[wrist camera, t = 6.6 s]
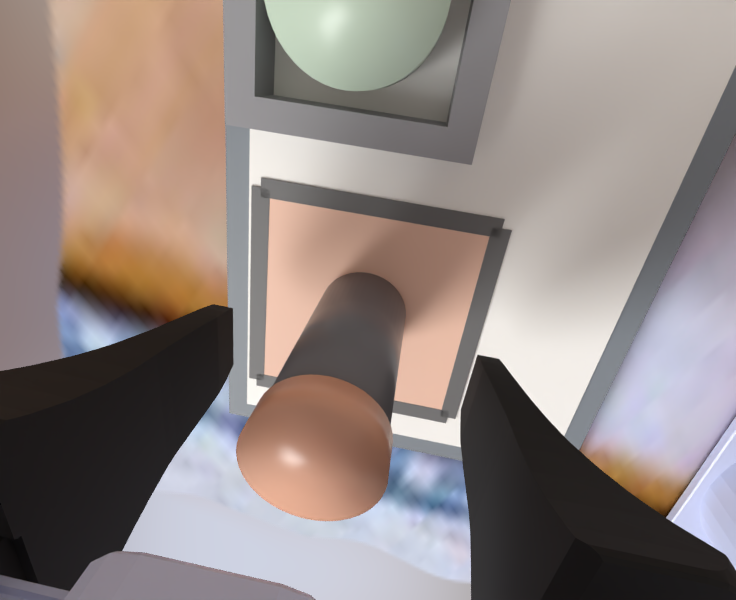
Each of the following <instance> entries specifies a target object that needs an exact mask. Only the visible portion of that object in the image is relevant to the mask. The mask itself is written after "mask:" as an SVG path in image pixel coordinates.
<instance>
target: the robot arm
mask: <svg viewBox="0 0 736 600" xmlns="http://www.w3.org/2000/svg"><path fill="white" fill-rule="evenodd" d="M233 365H234V359H233V308H229V307H224V306H219V305H214V304H213V305H210V306H207V307H204V308H202V309H199V310H197V311H194V312H192V313H190V314H187V315H185V316H183V317H180V318H178V319H176V320H173V321H171V322H169V323H166V324H164V325H162V326H159V327H157V328H154V329H152V330H149V331H147V332H144V333H141V334H139V335H136V336H134V337H131V338H128V339H126V340H123V341H120V342H118V343H115V344H112V345H109V346H105V347H102V348H99V349H96V350H92V351H89V352H85V353H82V354H79V355H75V356H71V357H67V358H62V359H58V360H54V361H49V362H45V363H41V364H36V365H32V366H26V367H21V368H15V369H10V370H4V371H0V600H315V599H314V598H313V597H312V596H311V595H309V594H306V593H304V592H301V591H298V590H296V589H294V588H291V587H288V586H286V585H283V584H280V583H275V582H271V581H267V580H262V579H257V578H254V577H249V576H245V575H240V574H236V573H232V572H227V571H223V570H218V569H214V568H210V567H205V566H201V565H197V564H192V563H187V562H183V561H179V560H175V559H170V558H166V557H162V556H157V555H153V554H148V553H142V552H124V551H122V550H123V548H124V546H125V544H126V542H127V540H128V538H129V536H130V534H131V532H132V530H133V528H134V526H135V524H136V523H137V521H138V519H139V517H140V515H141V513H142V512H143V510H144V508H145V506H146V504H147V502H148V500H149V498H150V497H151V495H152V493H153V491H154V490H155V488H156V486H157V484H158V483H159V481H160V479H161V477H162V475H163V474H164V472H165V470H166V468H167V467H168V465H169V464H170V462H171V460H172V459H173V457H174V456H175V454H176V453H177V451H178V450H179V449H180V447H181V446H182V444H183V443H184V442H185V440H186V439H187V437H188V436H189V435H190V433H191V432H192V430H193V429H194V428H195V426H196V425H197V423H198V422H199V421H200V419H201V418H202V417H203V415H204V414H205V412H206V411H207V410H208V408H209V407H210V405H211V404H212V402H213V401H214V400H215V398H216V397H217V395H218V394H219V392H220V390H221V389H222V387H223V385H224V383H225V381H226V379H227V377H228V375H229V373H230V371H231V369H232V367H233ZM460 444H461V452H462V461H463V469H464V477H465V485H466V493H467V501H468V509H469V519H470V536H471V600H736V417H735V418H734V420H733V421H732V423H731V424H730V426H729V427H728V429H727V430H726V432H725V433H724V434H723V436H722V437H721V439H720V440H719V442H718V443H717V445H716V446H715V447H714V449H713V450H712V452H711V453H710V455H709V456H708V458H707V459H706V461H705V462H704V463H703V465H702V466H701V468H700V469H699V471H698V472H697V474H696V475H695V477H694V478H693V479H692V481H691V482H690V484H689V485H688V487H687V488H686V490H685V491H684V493H683V494H682V495H681V497H680V498H679V500H678V501H677V503H676V504H675V506H674V507H673V508H672V510H671V511H670V513H669V514H668V516H667V517H666V518H665V517H664V516H662V515H661V514H659V513H658V512H657V511H655V510H654V509H652V508H651V507H649V506H648V505H646V504H645V503H643V502H642V501H641V500H639V499H638V498H637V497H635V496H634V495H632V494H631V493H630V492H628V491H627V490H626V489H624V488H623V487H622V486H620V485H619V484H618V483H617V482H615V481H614V480H613V479H612V478H610V477H609V476H608V475H607V474H605V473H604V472H603V471H602V470H600V469H599V468H598V467H597V466H596V465H595V464H593V463H592V462H591V461H590V460H589V459H588V458H587V457H585V456H584V455H583V454H582V453H581V452H580V451H579V450H578V449H577V448H576V447H575V446H574V445H573V444H571V443H570V442H569V441H568V440H567V439H566V438H565V437H564V436H563V435H562V434H561V433H560V432H559V431H558V429H557V428H556V427H555V426H554V425H553V424H552V423H551V422H550V421H549V420H548V419H547V418H546V416H545V415H544V414H543V413H542V412H541V411H540V410H539V408H538V407H537V406H536V405H535V404H534V403H533V401H532V400H531V399H530V398H529V396H528V395H527V394H526V393H525V391H524V390H523V389H522V388H521V386H520V385H519V384H518V382H517V381H516V380H515V379H514V377H513V376H512V375H511V373H510V372H509V371H508V369H507V368H506V367H505V365H504V364H503V363H502V362H501V361H500V359H498V358H493V357H487V356H482V355H477V358H476V361H475V364H474V368H473V371H472V374H471V378H470V381H469V384H468V387H467V391H466V394H465V397H464V401H463V404H462V407H461V416H460Z"/></svg>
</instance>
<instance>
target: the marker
mask: <svg viewBox="0 0 736 600" xmlns="http://www.w3.org/2000/svg"><path fill="white" fill-rule="evenodd" d="M405 318H406V309H405V304H404V301H403V299H402V297H401V295H400V293H399V292H398V290H397V289H396V288H395V287H394V286H393V285H392V284H391V283H390V282H388V281H387V280H386V279H384V278H382V277H380V276H377V275H375V274H371V273H365V272H355V273H349V274H346V275H343V276H341V277H339V278H337V279H336V280H334V281H333V282H332V283H331V284H330V285H329V286H328V287H327V289H326V290H325V292H324V294H323V296H322V297H321V299H320V301H319V303H318V305H317V307H316V308H315V310H314V312H313V314H312V316H311V317H310V319H309V321H308V323H307V325H306V326H305V328H304V330H303V332H302V334H301V335H300V337H299V339H298V341H297V343H296V344H295V346H294V348H293V350H292V352H291V353H290V355H289V357H288V359H287V361H286V362H285V364H284V366H283V368H282V370H281V371H280V373H279V375H278V377H277V379H276V380H275V382H274V384H273V386H272V387H270V388H269V389H268V390H267V391H266V392H265V393H264V394H263V396H262V397H261V398H260V400H259V402H258V403H257V405H256V407H255V409H254V410H253V412H252V414H251V416H250V417H249V419H248V421H247V423H246V424H245V426H244V428H243V430H242V432H241V434H240V436H239V438H238V442H237V448H236V454H237V461H238V465H239V468H240V470H241V473H242V475H243V476H244V478H245V480H246V481H247V483H248V484H249V485H250V486H251V488H252V489H253V490H254V491H255V492H256V493H257V494H258V495H259V496H261V497H262V498H263V499H264V500H266V501H267V502H268V503H270V504H271V505H273V506H275V507H277V508H278V509H280V510H282V511H285V512H287V513H289V514H292V515H295V516H298V517H301V518H305V519H311V520H318V521H338V520H344V519H349V518H353V517H356V516H358V515H360V514H363V513H365V512H366V511H368V510H369V509H371V508H372V507H373V506H374V505H375V504H377V503H378V501H379V500H380V499H381V498H382V496H383V494H384V492H385V490H386V487H387V484H388V476H389V468H390V460H391V452H392V444H393V433H392V428H391V419H392V412H393V404H394V397H395V390H396V383H397V376H398V368H399V361H400V354H401V347H402V340H403V332H404V325H405Z"/></svg>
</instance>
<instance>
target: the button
mask: <svg viewBox="0 0 736 600" xmlns="http://www.w3.org/2000/svg"><path fill="white" fill-rule="evenodd" d="M264 2H265V6H266V10H267V14H268V17H269V20H270V23H271V26H272V28H273V30H274V32H275V35H276V37H277V39H278V41H279V42H280V44H281V45H282V47H283V49H284V50H285V52H286V53H287V54H288V56H289V57H290V58H291V59H292V60H293V62H294V63H295V64H296V65H297V66H298V67H299V68H300V69H301V70H303V71H304V72H305V73H306V74H308V75H309V76H310V77H312V78H313V79H315V80H317V81H319V82H321V83H322V84H325V85H327V86H330V87H333V88H336V89H341V90H345V91H369V90H377V89H382V88H386V87H389V86H391V85H394V84H396V83H398V82H400V81H402V80H404V79H406V78H407V77H408V76H410V75H411V74H412V73H414V72H415V71H416V70H417V69H418V68H419V67H420V66H421V65H422V64H423V63H424V62H425V61H426V59H427V58H428V57H429V56H430V54H431V53H432V51H433V50H434V48H435V46H436V45H437V43H438V41H439V39H440V37H441V35H442V32H443V29H444V26H445V24H446V20H447V16H448V12H449V7H450V2H451V0H264Z"/></svg>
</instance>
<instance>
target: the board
mask: <svg viewBox="0 0 736 600" xmlns="http://www.w3.org/2000/svg"><path fill="white" fill-rule="evenodd" d="M223 25H224V93H225V129H226V199H227V270H228V307H229V308H233V359H234V365H233V367H232V369H231V371H230V373H229V410H230V413H232V414H237V415H242V416H246V417H250V416H251V414H252V412H253V410H254V409H255V407H256V405H257V403H258V402H259V400H260V398H261V397H262V396H263V394H264V393H265V392H266V391H267V390H268V389H269V388H270V387H272V386H273V384H274V382H275V380H276V379H277V377H278V375H279V373H280V371H281V370H282V368H283V366H284V364H285V362H286V361H287V359H288V357H289V355H290V353H291V352H292V350H293V348H294V346H295V344H296V343H297V341H298V339H299V337H300V335H301V334H302V332H303V330H304V328H305V326H306V325H307V323H308V321H309V319H310V317H311V316H312V314H313V312H314V310H315V308H316V307H317V305H318V303H319V301H320V299H321V297H322V296H323V294H324V292H325V290H326V289H327V287H328V286H329V285H330V284H331V283H332V282H333V281H334V280H336V279H337V278H339V277H341V276H343V275H346V274H349V273H355V272H365V273H371V274H375V275H377V276H380V277H382V278H384V279H386V280H387V281H388V282H390V283H391V284H392V285H393V286H394V287H395V288H396V289H397V290H398V292H399V293H400V295H401V297H402V299H403V301H404V304H405V309H406V318H405V325H404V332H403V340H402V347H401V354H400V361H399V368H398V376H397V383H396V390H395V397H394V404H393V412H392V419H391V428H392V433H393V444H392V446H393V447H398V448H402V449H407V450H412V451H417V452H422V453H427V454H432V455H436V456H441V457H446V458H451V459H456V460H461V461H462V452H461V444H460V416H461V407H462V404H463V401H464V397H465V394H466V391H467V387H468V384H469V381H470V378H471V374H472V371H473V368H474V364H475V361H476V358H477V355H482V356H487V357H493V358H498V359H500V361H501V362H502V363H503V364H504V365H505V367H506V368H507V369H508V371H509V372H510V373H511V375H512V376H513V377H514V379H515V380H516V381H517V382H518V384H519V385H520V386H521V388H522V389H523V390H524V391H525V393H526V394H527V395H528V396H529V398H530V399H531V400H532V401H533V403H534V404H535V405H536V406H537V407H538V408H539V410H540V411H541V412H542V413H543V414H544V415H545V416H546V418H547V419H548V420H549V421H550V422H551V423H552V424H553V425H554V426H555V427H556V428H557V429H558V431H559V432H560V433H561V434H562V435H563V436H564V437H565V438H566V439H567V440H568V441H569V442H570V443H571V444H573V445H574V446H575V447H576V448H577V449H578V450H579V449H580V447H581V445H582V443H583V441H584V439H585V437H586V435H587V433H588V431H589V429H590V427H591V425H592V423H593V421H594V419H595V417H596V415H597V413H598V411H599V409H600V407H601V405H602V403H603V401H604V399H605V397H606V395H607V393H608V391H609V389H610V387H611V384H612V382H613V380H614V378H615V376H616V374H617V372H618V370H619V368H620V366H621V364H622V362H623V360H624V358H625V356H626V354H627V352H628V350H629V348H630V346H631V344H632V342H633V340H634V338H635V336H636V334H637V332H638V330H639V328H640V326H641V324H642V322H643V320H644V318H645V316H646V314H647V312H648V310H649V308H650V306H651V304H652V302H653V299H654V297H655V295H656V293H657V291H658V289H659V287H660V285H661V283H662V281H663V279H664V277H665V275H666V273H667V271H668V269H669V267H670V265H671V263H672V261H673V259H674V257H675V255H676V253H677V251H678V249H679V247H680V245H681V243H682V241H683V239H684V237H685V235H686V233H687V231H688V229H689V227H690V225H691V223H692V221H693V219H694V217H695V214H696V212H697V210H698V208H699V206H700V204H701V202H702V200H703V198H704V196H705V194H706V192H707V190H708V188H709V186H710V184H711V182H712V180H713V178H714V176H715V174H716V172H717V170H718V168H719V166H720V164H721V162H722V160H723V158H724V156H725V154H726V152H727V150H728V148H729V146H730V144H731V142H732V140H733V138H734V136H735V134H736V0H451V2H450V7H449V12H448V16H447V20H446V24H445V26H444V29H443V32H442V35H441V37H440V39H439V41H438V43H437V45H436V46H435V48H434V50H433V51H432V53H431V54H430V56H429V57H428V58H427V59H426V61H425V62H424V63H423V64H422V65H421V66H420V67H419V68H418V69H417V70H416V71H415V72H414V73H412V74H411V75H410V76H408V77H407V78H406V79H404V80H402V81H400V82H398V83H396V84H394V85H391V86H389V87H386V88H382V89H377V90H369V91H345V90H341V89H336V88H333V87H330V86H327V85H325V84H322V83H321V82H319V81H317V80H315V79H313V78H312V77H310V76H309V75H308V74H306V73H305V72H304V71H303V70H301V69H300V68H299V67H298V66H297V65H296V64H295V63H294V62H293V60H292V59H291V58H290V57H289V56H288V54H287V53H286V52H285V50H284V49H283V47H282V45H281V44H280V42H279V41H278V39H277V37H276V35H275V32H274V30H273V28H272V26H271V23H270V20H269V17H268V14H267V10H266V6H265V2H264V0H223Z"/></svg>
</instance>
